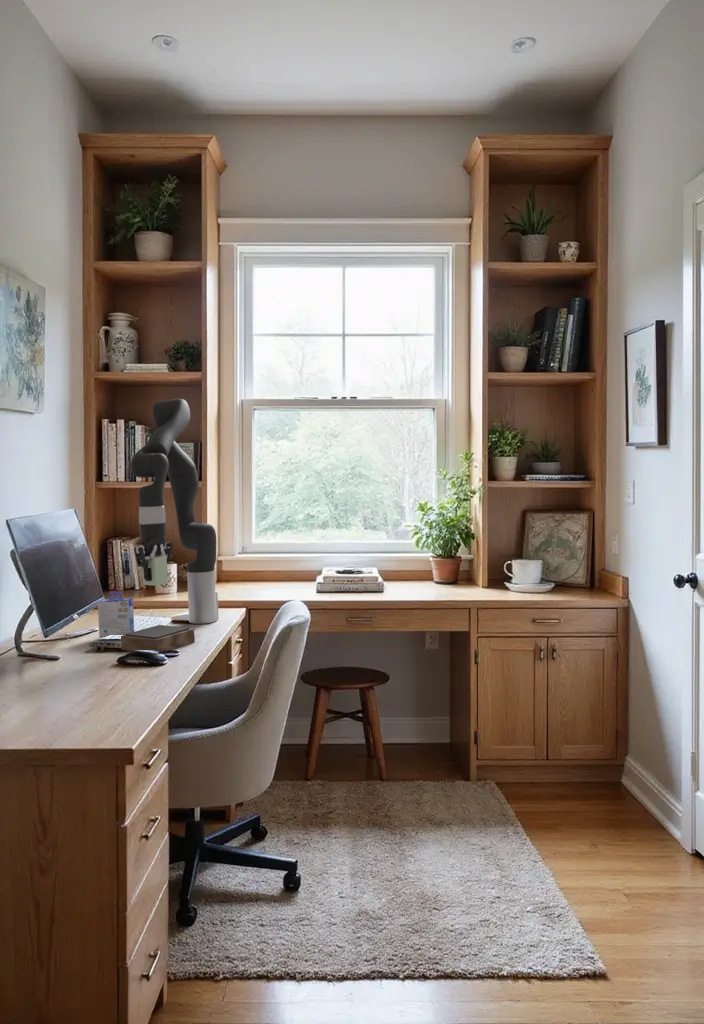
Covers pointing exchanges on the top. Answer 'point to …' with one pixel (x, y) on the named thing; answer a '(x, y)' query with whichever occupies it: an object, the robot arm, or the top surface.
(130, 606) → the ink cartridge box
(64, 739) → the top surface
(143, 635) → the walnut base
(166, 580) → the sage block
